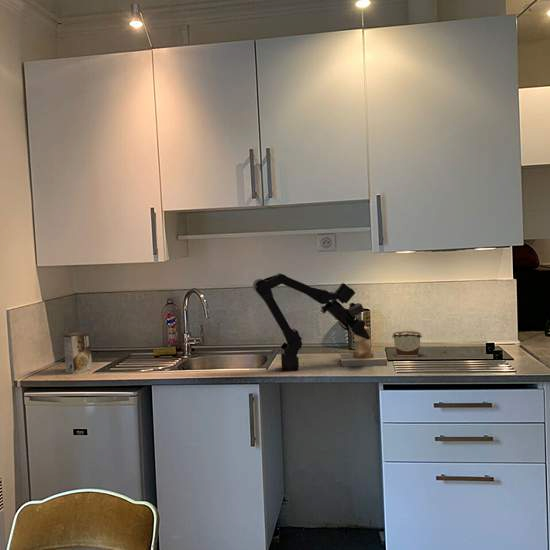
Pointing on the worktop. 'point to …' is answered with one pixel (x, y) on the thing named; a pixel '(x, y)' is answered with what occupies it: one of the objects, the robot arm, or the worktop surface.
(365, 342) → the tan piece
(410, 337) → the food container
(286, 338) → the robot arm
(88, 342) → the coffee box
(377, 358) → the plate
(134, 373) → the worktop surface
